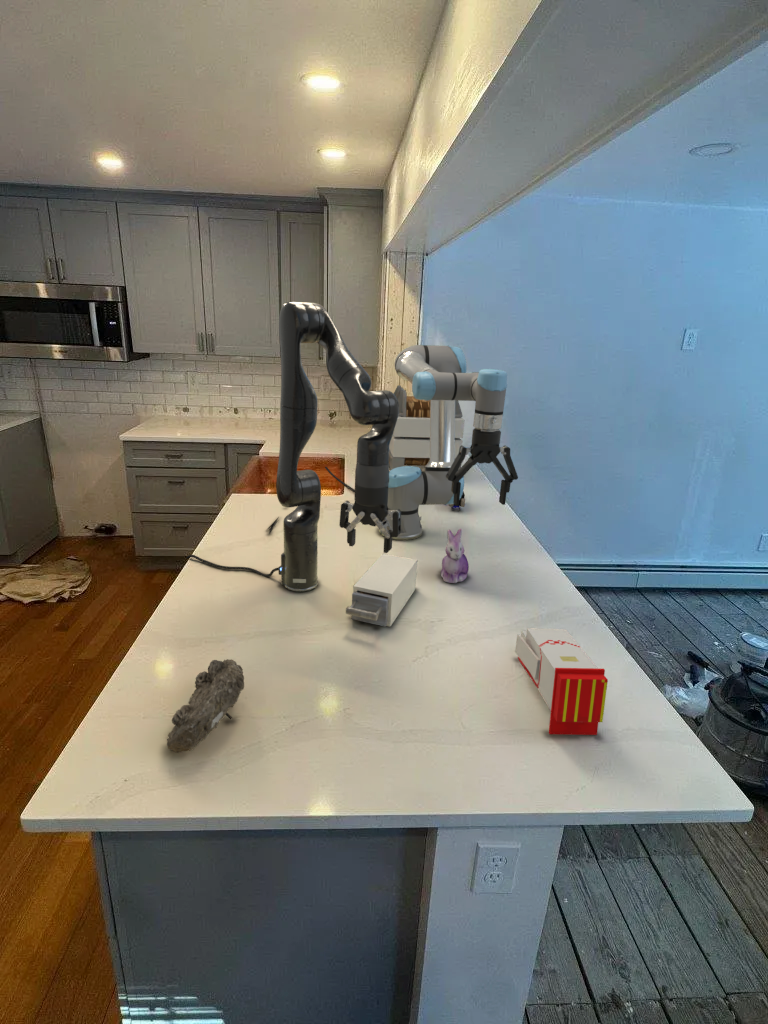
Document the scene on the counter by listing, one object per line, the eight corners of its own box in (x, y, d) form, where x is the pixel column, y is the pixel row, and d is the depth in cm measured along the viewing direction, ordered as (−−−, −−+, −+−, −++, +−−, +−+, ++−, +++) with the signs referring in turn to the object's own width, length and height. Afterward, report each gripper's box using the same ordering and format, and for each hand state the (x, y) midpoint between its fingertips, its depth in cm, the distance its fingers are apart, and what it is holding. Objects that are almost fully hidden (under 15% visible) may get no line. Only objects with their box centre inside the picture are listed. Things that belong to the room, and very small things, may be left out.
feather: (286, 511, 220) (288, 507, 220) (268, 535, 193) (271, 531, 193) (282, 508, 220) (285, 504, 219) (263, 533, 193) (266, 528, 193)
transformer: (382, 463, 289) (386, 382, 275) (445, 464, 293) (451, 384, 279) (390, 482, 257) (394, 392, 243) (460, 483, 261) (468, 394, 247)
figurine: (450, 587, 163) (454, 538, 158) (431, 572, 171) (435, 526, 166) (477, 581, 167) (482, 534, 162) (457, 567, 175) (461, 522, 170)
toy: (561, 612, 132) (617, 675, 103) (556, 665, 135) (608, 741, 106) (510, 611, 132) (551, 674, 102) (505, 664, 134) (544, 741, 105)
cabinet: (390, 626, 141) (392, 594, 138) (352, 618, 145) (353, 585, 141) (415, 589, 161) (417, 559, 158) (381, 582, 164) (382, 553, 161)
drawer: (377, 638, 134) (378, 611, 132) (342, 630, 137) (343, 604, 135) (410, 590, 158) (411, 567, 155) (379, 584, 160) (380, 561, 158)
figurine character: (465, 515, 224) (460, 499, 237) (467, 498, 221) (462, 483, 234) (448, 515, 224) (444, 499, 237) (450, 498, 220) (445, 482, 234)
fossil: (192, 660, 117) (244, 628, 112) (224, 691, 120) (276, 661, 115) (142, 746, 98) (202, 712, 93) (182, 779, 101) (242, 748, 96)
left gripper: (335, 481, 125) (334, 549, 130) (396, 490, 121) (393, 560, 126) (348, 473, 132) (347, 537, 137) (407, 481, 127) (403, 548, 133)
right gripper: (446, 431, 146) (440, 509, 153) (536, 432, 151) (526, 507, 158) (438, 425, 153) (432, 500, 160) (524, 426, 158) (515, 498, 165)
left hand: (369, 548), depth 132 cm, fingers open, 8 cm apart
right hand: (479, 503), depth 159 cm, fingers open, 13 cm apart
